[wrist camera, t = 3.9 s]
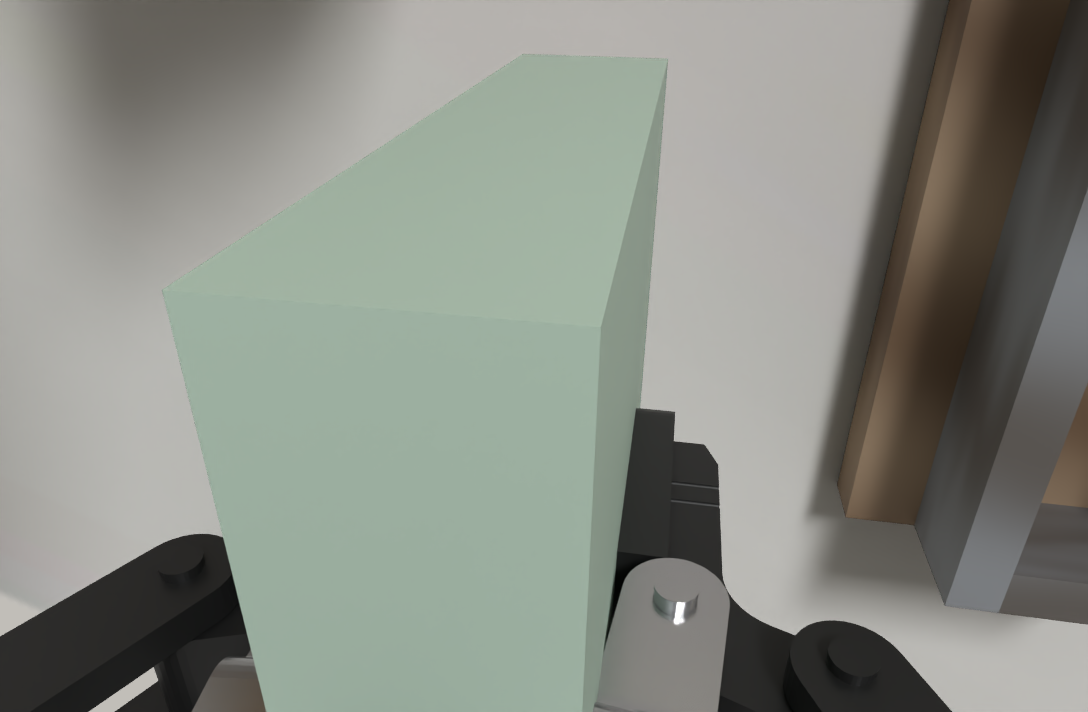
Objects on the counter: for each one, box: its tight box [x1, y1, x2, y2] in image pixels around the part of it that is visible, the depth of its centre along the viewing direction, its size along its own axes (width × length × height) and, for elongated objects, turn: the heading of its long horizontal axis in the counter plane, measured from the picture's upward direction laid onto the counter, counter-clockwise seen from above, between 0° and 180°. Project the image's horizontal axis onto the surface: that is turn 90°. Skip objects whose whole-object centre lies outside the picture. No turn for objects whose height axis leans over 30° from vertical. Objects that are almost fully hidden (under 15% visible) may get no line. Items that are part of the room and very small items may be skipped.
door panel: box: [162, 54, 668, 712], centre depth 11 cm, size 12×3×10 cm, turn 179°
